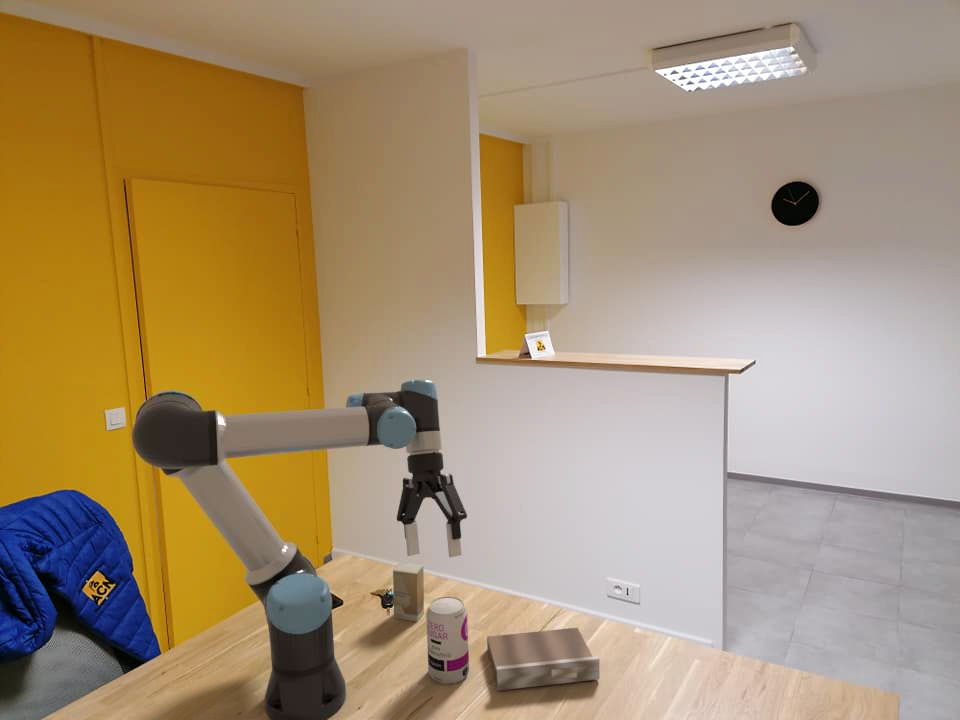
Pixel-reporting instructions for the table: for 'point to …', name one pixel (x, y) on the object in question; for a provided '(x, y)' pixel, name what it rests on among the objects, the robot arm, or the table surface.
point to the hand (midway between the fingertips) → (433, 555)
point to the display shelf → (541, 658)
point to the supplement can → (447, 640)
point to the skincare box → (408, 591)
